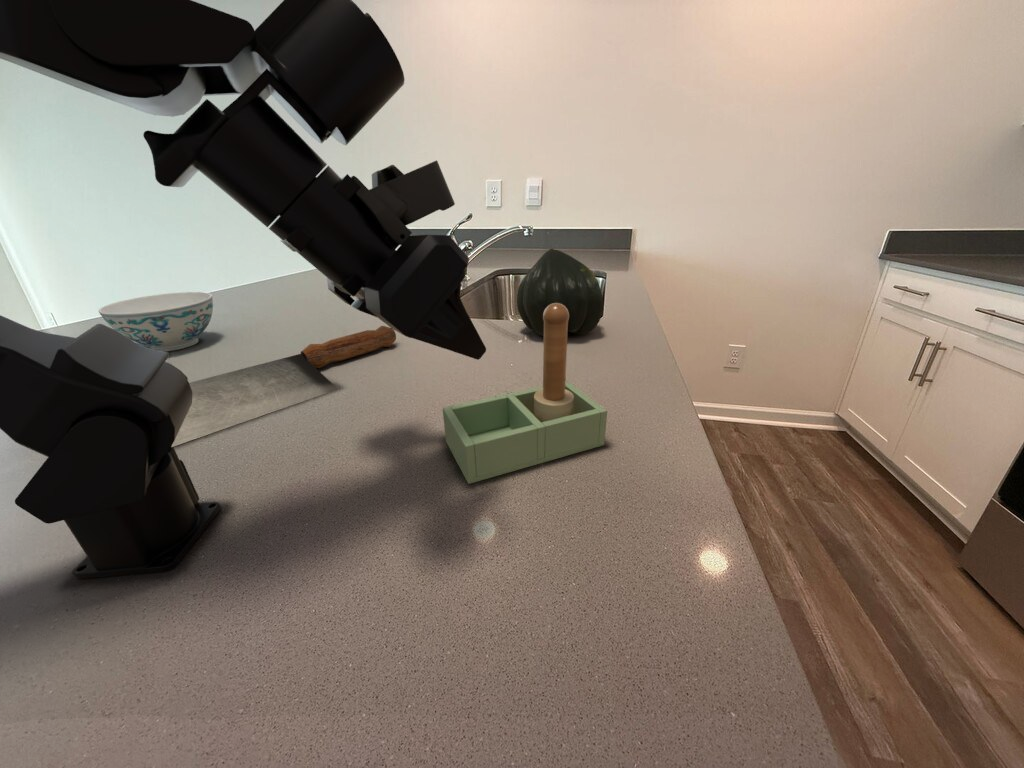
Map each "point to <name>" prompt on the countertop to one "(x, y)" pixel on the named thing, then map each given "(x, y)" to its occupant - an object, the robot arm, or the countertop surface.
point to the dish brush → (554, 367)
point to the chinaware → (161, 319)
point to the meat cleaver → (271, 384)
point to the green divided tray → (518, 433)
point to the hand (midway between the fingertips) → (457, 343)
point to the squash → (560, 293)
